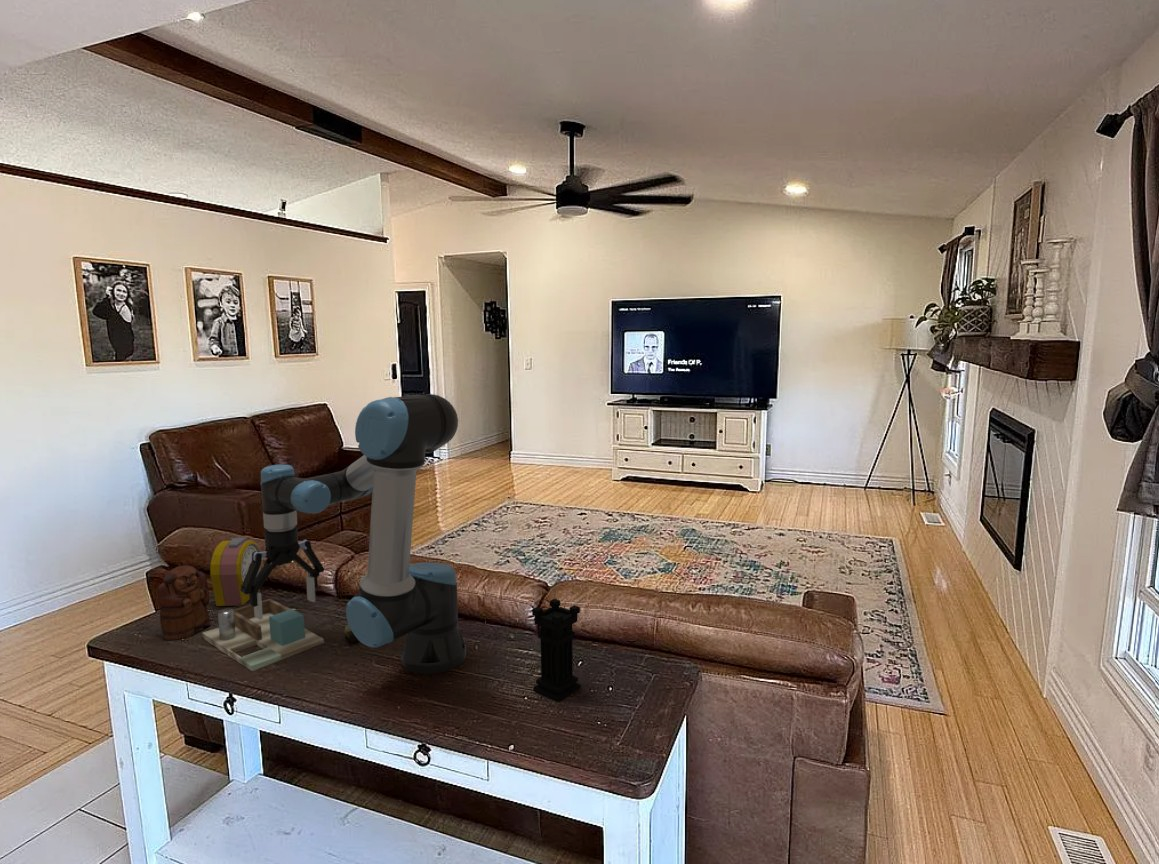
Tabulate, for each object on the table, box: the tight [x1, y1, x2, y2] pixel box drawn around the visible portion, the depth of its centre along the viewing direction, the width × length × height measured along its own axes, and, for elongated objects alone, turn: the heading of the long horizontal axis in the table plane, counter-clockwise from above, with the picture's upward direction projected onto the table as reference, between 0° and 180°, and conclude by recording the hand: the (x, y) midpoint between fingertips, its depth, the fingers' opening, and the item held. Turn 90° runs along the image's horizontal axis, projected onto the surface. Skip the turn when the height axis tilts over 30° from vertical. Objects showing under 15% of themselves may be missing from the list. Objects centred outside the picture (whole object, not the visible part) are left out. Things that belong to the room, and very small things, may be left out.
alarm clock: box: [209, 537, 262, 607], centre depth 196 cm, size 15×8×18 cm, turn 2°
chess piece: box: [531, 598, 582, 703], centre depth 141 cm, size 8×8×20 cm
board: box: [201, 613, 325, 672], centre depth 169 cm, size 28×18×2 cm, turn 51°
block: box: [269, 608, 306, 646], centre depth 167 cm, size 6×6×6 cm
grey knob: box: [216, 608, 236, 641], centre depth 167 cm, size 4×4×7 cm
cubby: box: [233, 598, 292, 641], centre depth 175 cm, size 16×11×4 cm
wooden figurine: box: [157, 565, 212, 641], centre depth 173 cm, size 12×6×18 cm, turn 160°
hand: (285, 608), depth 166 cm, fingers open, 13 cm apart
